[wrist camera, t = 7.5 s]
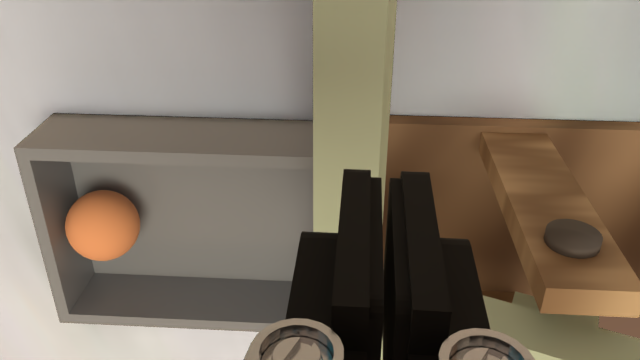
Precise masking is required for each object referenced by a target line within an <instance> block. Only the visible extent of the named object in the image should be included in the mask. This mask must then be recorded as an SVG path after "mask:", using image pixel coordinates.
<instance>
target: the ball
mask: <svg viewBox="0 0 640 360" xmlns="http://www.w3.org/2000/svg"><path fill="white" fill-rule="evenodd" d="M65 232H66V236H67V239H68V241H69V243H70V245H71V246H72V247H73V249H74V250H75V251H76V252H77V253H79V254H80V255H82V256H83V257H86V258H88V259H91V260H96V261H108V260H112V259H116V258H118V257H120V256H122V255H123V254H125V253H126V252H128V251H129V250H130V249H131V247H132V246H133V245H134V244H135V242H136V240H137V238H138V235H139V232H140V218H139V214H138V211H137V209H136V208H135V206H134V204H133V203H132V202H131V201H130V200H129V199H128V198H127V197H125V196H124V195H122V194H120V193H117V192H114V191H110V190H97V191H93V192H90V193H87V194H85V195H83V196H82V197H80V198H79V199H78V200H77V201H76V202H75V203H74V204H73V205H72V206H71V208H70V209H69V211H68V214H67V216H66V221H65Z"/></svg>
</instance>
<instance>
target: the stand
mask: <svg viewBox="0 0 640 360" xmlns="http://www.w3.org/2000/svg"><path fill="white" fill-rule="evenodd" d="M401 171H410V172H429V173H430V179H431V185H432V191H433V197H434V204H435V210H436V216H437V222H438V229H439V235H440V238H457V239H468V240H469V241H470V244H471V247H472V251H473V256H474V260H475V264H476V269H477V273H478V277H479V282H480V286H481V290H482V295H483V296H487V297H491V298H494V299H498V300H502V301H505V302H509V303H512V301H513V298H514V294H515V291H516V292H520V293H523V294H527V295H531V296H534V298H535V301H536V304H537V306H538V309H539V312H540V313H543V314H566V315H588V316H612V317H633V318H639V316H640V122H616V121H580V120H544V119H508V118H472V117H436V116H400V115H390V117H389V133H388V149H387V164H386V180H385V195H384V211H383V268H384V254H385V240H386V225H387V211H388V197H389V183H390V178H400V175H401Z"/></svg>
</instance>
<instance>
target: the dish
mask: <svg viewBox="0 0 640 360" xmlns="http://www.w3.org/2000/svg"><path fill="white" fill-rule="evenodd" d="M14 152H15V155H16V159H17V163H18V167H19V170H20V174H21V178H22V182H23V185H24V189H25V193H26V197H27V201H28V204H29V208H30V212H31V216H32V219H33V223H34V227H35V231H36V234H37V238H38V242H39V246H40V249H41V253H42V257H43V261H44V264H45V268H46V272H47V276H48V279H49V283H50V287H51V291H52V294H53V298H54V302H55V306H56V310H57V313H58V317H59V321H60V323H82V324H103V325H124V326H146V327H167V328H189V329H210V330H231V331H253V332H260V331H262V330H263V329H264V328H266V327H267V326H268V325H271V324H273V323H276V322H278V321H280V320H285V318H286V313H287V307H288V302H289V296H290V291H291V285H292V279H293V274H294V268H295V263H296V257H297V252H298V246H299V241H300V236H301V232H302V231H306V232H313V121H308V120H272V119H237V118H202V117H167V116H131V115H96V114H61V113H53V114H52V115H51V116H50V117H49V118H47V119H46V120H45V121H44V122H43V123H42V124H41V125H39V126H38V127H37V128H36V129H35V130H34V131H33V132H31V133H30V134H29V135H28V136H27V137H26V138H24V139H23V140H22V141H21V142H20V143H19V144H18V145H16V146H15V147H14ZM97 190H110V191H114V192H117V193H120V194H122V195H124V196H125V197H127V198H128V199H129V200H130V201H131V202H132V203H133V204H134V206H135V208H136V209H137V211H138V214H139V218H140V232H139V235H138V238H137V240H136V242H135V244H134V245H133V246H132V247H131V249H130V250H129V251H128V252H126V253H125V254H123V255H122V256H120V257H118V258H116V259H112V260H108V261H96V260H91V259H88V258H86V257H83V256H82V255H80V254H79V253H77V252H76V251H75V250H74V249H73V247H72V246H71V245H70V243H69V241H68V239H67V236H66V232H65V221H66V216H67V214H68V211H69V209H70V208H71V206H72V205H73V204H74V203H75V202H76V201H77V200H78V199H79V198H80V197H82V196H83V195H85V194H87V193H90V192H93V191H97Z"/></svg>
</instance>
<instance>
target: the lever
mask: <svg viewBox="0 0 640 360" xmlns="http://www.w3.org/2000/svg"><path fill="white" fill-rule="evenodd" d="M396 8H397V0H313V232H328V233H338V226H339V215H340V204H341V193H342V181H343V170H344V169H359V170H371V177H380V178H381V179H382V224H383V211H384V195H385V180H386V164H387V149H388V133H389V117H390V102H391V86H392V70H393V55H394V39H395V24H396ZM383 269H384V268H383ZM483 299H484V303H485V308H486V312H487V316H488V321H489V325H490V329H491V330H494V331H497V332H501V333H504V334H506V335H508V336H510V337H512V338H514V339H516V340H517V341H518V342H520V343H521V344H522V345H523V346H524V347H526V348H527V349H528V350H529V352H530V353H531V355H532V356H533V357H534V359H535V360H640V339H639V338H635V337H631V336H628V335H624V334H620V333H617V332H613V331H610V330H606V329H603V328H599V327H598V321H599V316H588V315H566V314H543V313H540V312H539V309H538V306H537V304H536V301H535V298H534V296H531V295H527V294H523V293H520V292H516V291H515V294H514V298H513V301H512V303H509V302H505V301H502V300H498V299H494V298H491V297H487V296H483ZM381 360H383V340H382V347H381Z"/></svg>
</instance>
